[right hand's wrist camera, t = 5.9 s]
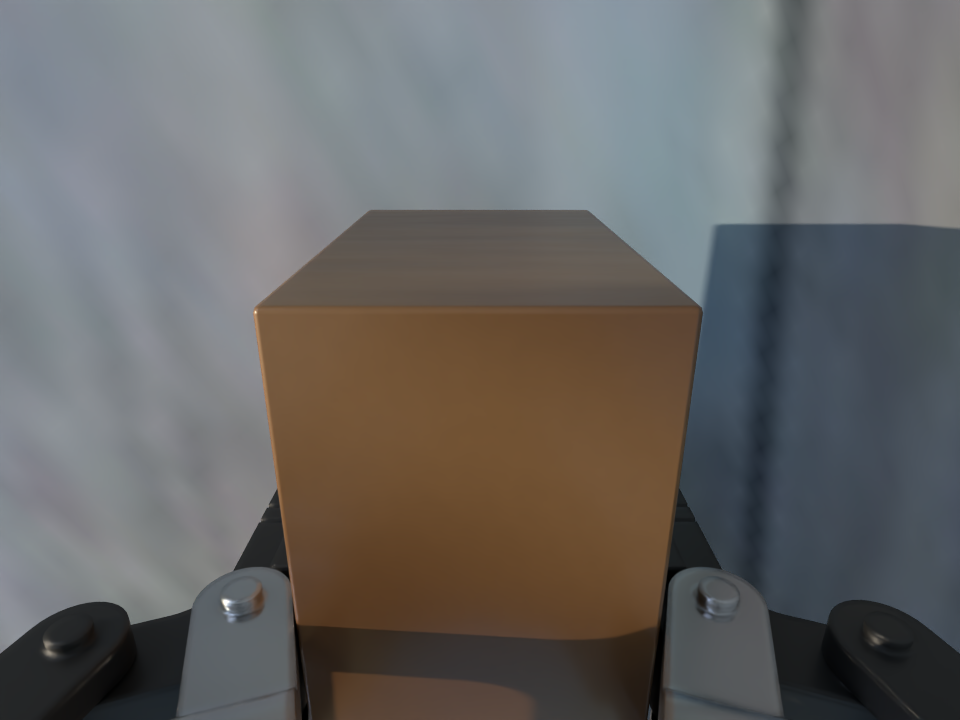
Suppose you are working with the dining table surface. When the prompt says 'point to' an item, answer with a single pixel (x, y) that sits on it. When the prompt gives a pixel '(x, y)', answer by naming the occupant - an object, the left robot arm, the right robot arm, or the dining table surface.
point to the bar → (478, 464)
